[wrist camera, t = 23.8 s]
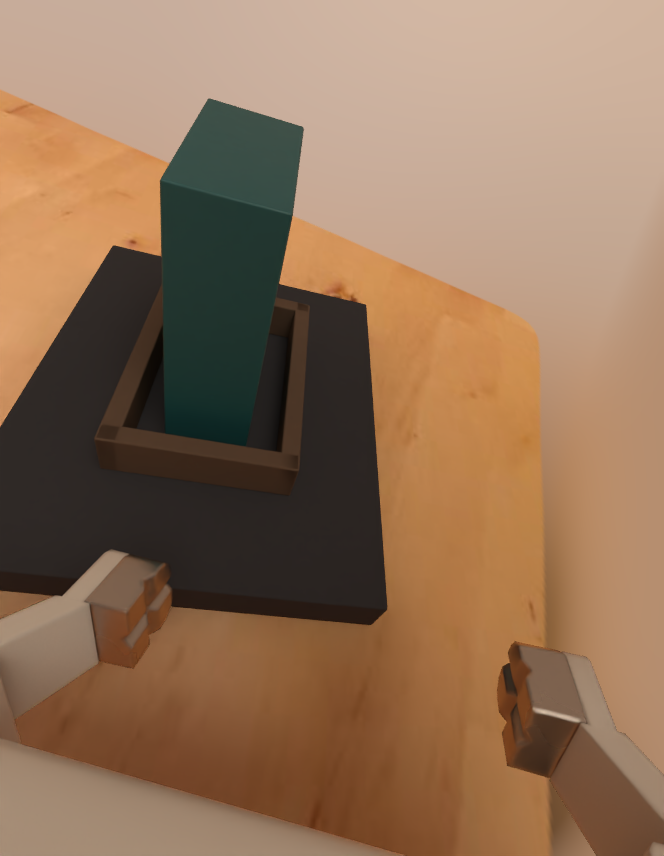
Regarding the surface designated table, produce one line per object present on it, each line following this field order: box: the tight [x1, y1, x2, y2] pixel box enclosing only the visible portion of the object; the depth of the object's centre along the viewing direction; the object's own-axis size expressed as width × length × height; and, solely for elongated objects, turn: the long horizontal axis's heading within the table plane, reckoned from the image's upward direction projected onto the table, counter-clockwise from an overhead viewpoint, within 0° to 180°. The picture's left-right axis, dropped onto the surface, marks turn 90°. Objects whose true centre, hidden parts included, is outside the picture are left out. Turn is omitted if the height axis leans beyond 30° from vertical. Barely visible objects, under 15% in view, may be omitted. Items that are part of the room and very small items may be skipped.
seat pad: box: [0, 246, 387, 625], centre depth 23 cm, size 16×20×4 cm
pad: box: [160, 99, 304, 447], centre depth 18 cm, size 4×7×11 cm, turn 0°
